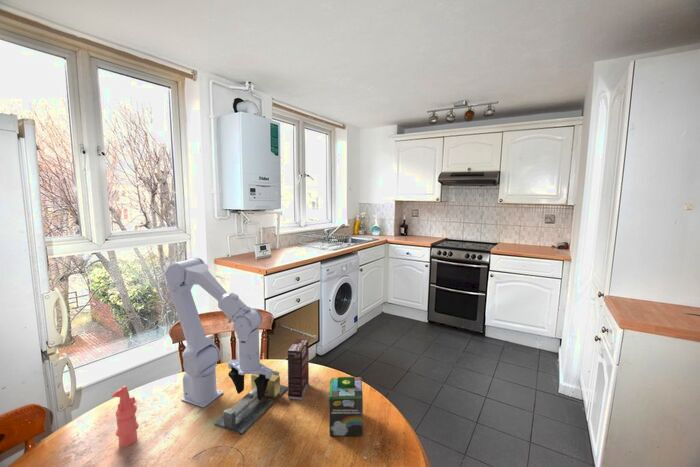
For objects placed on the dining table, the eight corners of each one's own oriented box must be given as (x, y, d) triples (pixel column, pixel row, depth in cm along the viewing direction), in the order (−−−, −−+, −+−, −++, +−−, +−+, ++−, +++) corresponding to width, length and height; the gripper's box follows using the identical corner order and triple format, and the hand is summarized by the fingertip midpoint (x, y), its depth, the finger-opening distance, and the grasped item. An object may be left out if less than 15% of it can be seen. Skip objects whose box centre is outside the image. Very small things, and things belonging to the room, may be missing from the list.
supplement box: (302, 400, 98) (301, 352, 96) (287, 399, 99) (286, 351, 97) (309, 384, 107) (309, 339, 105) (295, 383, 107) (295, 338, 105)
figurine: (121, 452, 78) (116, 395, 76) (111, 443, 81) (106, 389, 79) (143, 438, 82) (139, 385, 81) (134, 431, 85) (129, 379, 83)
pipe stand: (242, 434, 84) (241, 416, 83) (214, 424, 88) (213, 407, 87) (288, 388, 104) (287, 373, 104) (264, 381, 108) (263, 367, 107)
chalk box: (362, 413, 92) (362, 365, 91) (363, 437, 83) (363, 384, 82) (330, 413, 92) (330, 365, 91) (328, 436, 83) (328, 384, 82)
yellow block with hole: (274, 398, 98) (274, 381, 97) (251, 391, 101) (251, 375, 101) (280, 392, 101) (279, 376, 100) (257, 386, 104) (257, 370, 103)
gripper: (219, 353, 91) (221, 396, 93) (261, 363, 86) (262, 409, 88) (236, 342, 98) (238, 383, 100) (276, 351, 93) (277, 394, 94)
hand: (250, 394), depth 94 cm, fingers open, 7 cm apart
